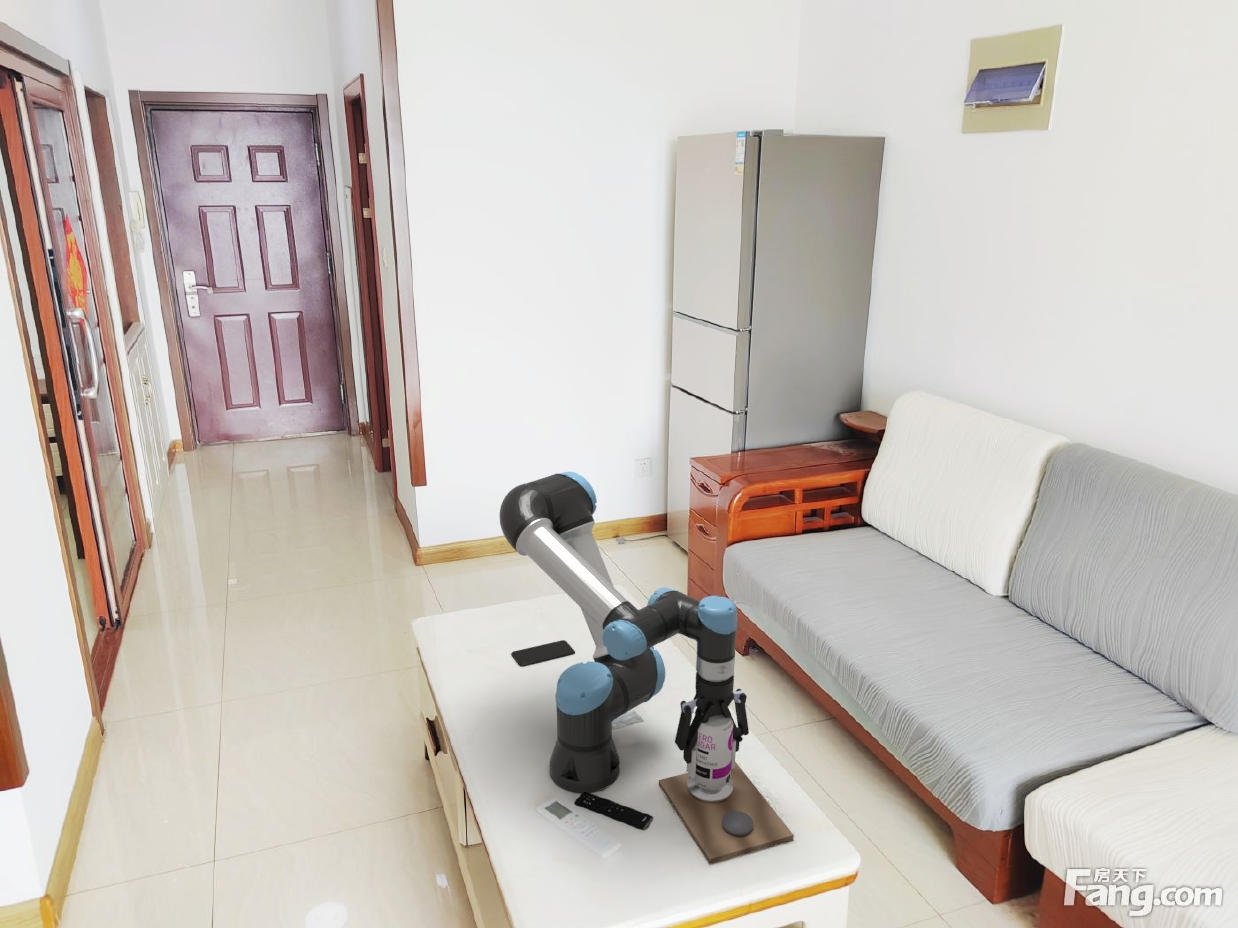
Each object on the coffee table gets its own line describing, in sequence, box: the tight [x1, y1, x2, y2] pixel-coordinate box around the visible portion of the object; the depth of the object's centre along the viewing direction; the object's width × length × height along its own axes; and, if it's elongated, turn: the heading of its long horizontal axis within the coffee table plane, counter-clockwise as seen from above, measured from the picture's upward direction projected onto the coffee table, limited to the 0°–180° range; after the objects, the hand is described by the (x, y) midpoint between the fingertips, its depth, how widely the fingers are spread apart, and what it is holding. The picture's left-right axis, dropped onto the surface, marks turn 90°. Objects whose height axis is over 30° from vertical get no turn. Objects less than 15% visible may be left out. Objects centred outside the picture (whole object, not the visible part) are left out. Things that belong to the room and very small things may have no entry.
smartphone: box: [511, 639, 576, 668], centre depth 236 cm, size 8×1×16 cm
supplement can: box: [692, 714, 733, 790], centre depth 180 cm, size 8×8×15 cm
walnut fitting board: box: [658, 761, 795, 865], centre depth 178 cm, size 18×24×1 cm
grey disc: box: [722, 811, 753, 837], centre depth 172 cm, size 6×6×1 cm
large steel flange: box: [687, 776, 733, 803], centre depth 183 cm, size 10×10×1 cm
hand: (710, 769), depth 181 cm, fingers closed on supplement can, 8 cm apart
